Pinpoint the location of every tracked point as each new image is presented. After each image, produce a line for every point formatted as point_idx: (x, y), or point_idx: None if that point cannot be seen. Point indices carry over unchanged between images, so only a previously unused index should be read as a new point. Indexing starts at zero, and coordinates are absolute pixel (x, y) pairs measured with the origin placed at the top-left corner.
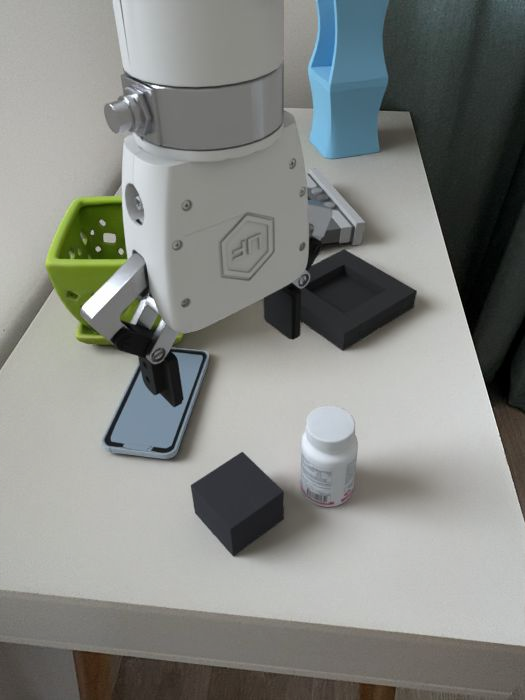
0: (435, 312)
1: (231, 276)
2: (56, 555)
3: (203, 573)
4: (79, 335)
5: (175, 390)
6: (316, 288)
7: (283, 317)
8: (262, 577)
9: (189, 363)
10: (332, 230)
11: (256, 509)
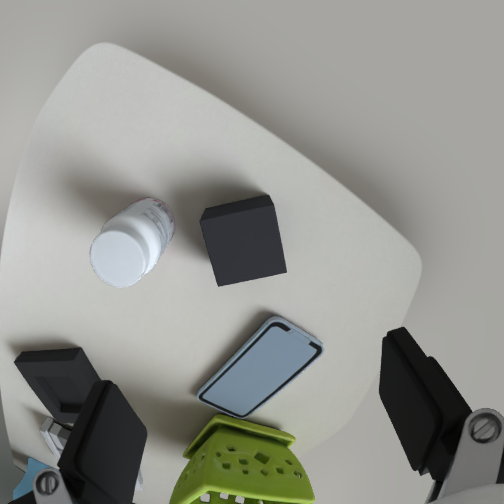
0: (9, 338)
1: None
2: (393, 267)
3: (300, 192)
4: (293, 440)
5: (418, 353)
6: None
7: (112, 428)
8: (253, 162)
9: (216, 395)
10: (63, 437)
11: (237, 213)
